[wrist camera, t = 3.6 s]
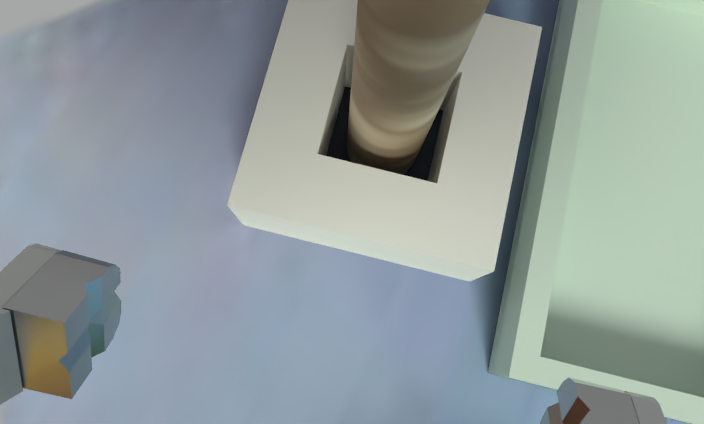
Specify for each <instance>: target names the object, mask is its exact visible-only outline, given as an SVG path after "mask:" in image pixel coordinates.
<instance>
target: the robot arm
mask: <svg viewBox="0 0 704 424" xmlns="http://www.w3.org/2000/svg"><path fill="white" fill-rule="evenodd" d="M120 282H121V281H120V268H119V267H118V266H116V265H115V264H111V263H107V262H104V261H100V260H97V259H93V258H89V257H86V256H82V255H78V254H75V253H71V252H67V251H64V250H62V251H61V250H58V249H54V248H50V247H47V246H43V245H40V244H33V245H30V246H27V247H26V248H25V249H24V250H23V251H22V252H21V253H20V254H19V255H18V256H16V257H15V258H14V259H13V260H12V261H11V262H10V263H9V264H8V265H7V266H6V267H5V268H4V269H3V270H2V271H1V272H0V404H2V403H4V402H5V401H7V400H9V399H10V398H12V397H14V396H15V395H17V394H19V393H20V392H22V391H23V388H25V389H29V390H34V391H38V392H43V393H47V394H51V395H56V396H60V397H65V398H69V399H72V398H73V397H74V395H75V394H76V392H77V391H78V389H79V388H80V386H81V385H82V384H83V382H84V381H85V379H86V378H87V376H88V375H89V373H90V372H91V371H92V360H91V357H93V356H95V355H97V354H99V353H102V352H104V351H105V350H106V348H107V347H108V345H109V344H110V342H111V341H112V339H113V337H114V335H115V332H116V330H117V327H118V325H119V321H120V315H121V300H120V299H119V297H118V296H117V295H116V293H115V292H114V291H115V289H116V288H117V286H118V285H119V284H120ZM557 395H558V400H559V403H556V404H554V405H552V406H550V407H548V408H547V409H546V411H545V413H544V415H543V417H542V419H541V422H540V424H667V423H666V420H665V417H664V415H663V412H662V409H661V406H660V404H659V402H658V401H657V400H656V399H655V398H654V397H650V396H645V395H641V394H637V393H633V392H628V391H622V390H619V389H615V388H611V387H606V386H602V385H598V384H594V383H590V382H586V381H581V380H577V379H573V378H569V377H568V378H567V379H566V380H564V381H563V382H562V384H561V385H560V387H559V389H558V390H557Z"/></svg>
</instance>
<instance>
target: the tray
mask: <svg viewBox="0 0 704 424" xmlns="http://www.w3.org/2000/svg"><path fill="white" fill-rule="evenodd" d="M488 373H492V374H496V375H500V376H504V377H508V378H512V379H516V380H520V381H524V382H528V383H532V384H536V385H540V386H544V387H547V388H551V389H555V390H558V389H559V387H560V385H561V384H562V382H563V381H564V380H566V379H567V378H568V377H569V378H573V379H577V380H581V381H586V382H590V383H594V384H598V385H602V386H606V387H611V388H615V389H619V390H622V391H628V392H633V393H637V394H641V395H645V396H650V397H654V398H655V399H656V400H657V401H658V402H659V404H660V406H661V409H662V412H663V415H664V417H666V418H670V419H674V420H678V421H682V422H686V423H690V424H704V0H559V4H558V10H557V15H556V20H555V25H554V30H553V36H552V41H551V46H550V51H549V56H548V62H547V67H546V72H545V77H544V83H543V88H542V93H541V98H540V103H539V109H538V114H537V119H536V124H535V129H534V135H533V140H532V145H531V150H530V155H529V161H528V166H527V171H526V176H525V181H524V187H523V192H522V197H521V202H520V208H519V213H518V218H517V223H516V228H515V234H514V239H513V244H512V249H511V254H510V260H509V265H508V270H507V275H506V280H505V286H504V291H503V296H502V301H501V307H500V312H499V317H498V322H497V327H496V333H495V338H494V343H493V348H492V353H491V359H490V364H489V369H488Z"/></svg>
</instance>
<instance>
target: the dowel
mask: <svg viewBox="0 0 704 424" xmlns="http://www.w3.org/2000/svg"><path fill="white" fill-rule="evenodd" d="M489 2H490V0H358V3H357V16H356V29H355V42H354V55H353V69H352V82H351V95H350V108H349V121H348V134H347V152H348V156H349V158H350V160H351V162H352V163H357V164H361V165H365V166H369V167H373V168H377V169H381V170H385V171H389V172H393V173H397V174H401V175H403V174H404V173H405V172H407V171H408V170H409V169H410V168H411V166H412V165H413V163H414V162H415V160H416V157H417V155H418V153H419V151H420V149H421V147H422V145H423V143H424V140H425V138H426V136H427V134H428V132H429V130H430V128H431V125H432V123H433V121H434V119H435V117H436V115H437V113H438V111H439V108H440V106H441V104H442V102H443V100H444V98H445V96H446V94H447V91H448V89H449V87H450V85H451V83H452V81H453V79H454V77H455V74H456V72H457V70H458V68H459V66H460V64H461V62H462V59H463V57H464V55H465V53H466V51H467V49H468V47H469V45H470V42H471V40H472V38H473V36H474V34H475V32H476V30H477V28H478V25H479V23H480V21H481V19H482V17H483V15H484V13H485V10H486V8H487V6H488V4H489Z"/></svg>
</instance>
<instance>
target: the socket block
mask: <svg viewBox="0 0 704 424" xmlns="http://www.w3.org/2000/svg"><path fill="white" fill-rule="evenodd" d="M357 3H358V0H288V3H287V6H286V10H285V13H284V16H283V20H282V23H281V26H280V30H279V33H278V37H277V40H276V43H275V47H274V50H273V53H272V57H271V60H270V63H269V67H268V70H267V73H266V77H265V80H264V83H263V87H262V90H261V93H260V97H259V100H258V103H257V107H256V110H255V113H254V117H253V120H252V123H251V127H250V130H249V133H248V137H247V140H246V143H245V147H244V150H243V153H242V157H241V160H240V164H239V167H238V170H237V174H236V177H235V180H234V184H233V187H232V190H231V194H230V197H229V200H228V204H227V205H228V207H229V208H230V209H231V210H232V212H233V213H234V214H235V215H236V217H237V218H238V219H239V220H240V222H241V223H242V224H243V225H245V226H249V227H253V228H257V229H261V230H265V231H269V232H273V233H277V234H281V235H285V236H289V237H293V238H297V239H301V240H305V241H309V242H313V243H317V244H321V245H325V246H329V247H333V248H337V249H341V250H345V251H349V252H353V253H357V254H361V255H365V256H369V257H373V258H377V259H381V260H385V261H389V262H393V263H397V264H401V265H405V266H409V267H413V268H417V269H421V270H425V271H429V272H433V273H437V274H441V275H445V276H449V277H453V278H457V279H461V280H465V281H469V282H470V281H472V280H474V279H477V278H479V277H482V276H484V275H487V274H489V273H492V272H494V270H495V265H496V260H497V255H498V250H499V245H500V240H501V234H502V229H503V224H504V219H505V214H506V209H507V204H508V199H509V194H510V189H511V184H512V178H513V173H514V168H515V163H516V158H517V153H518V148H519V143H520V138H521V133H522V128H523V123H524V117H525V112H526V107H527V102H528V97H529V92H530V87H531V82H532V77H533V72H534V67H535V62H536V56H537V51H538V46H539V41H540V36H541V31H542V27H540V26H536V25H532V24H528V23H524V22H520V21H515V20H511V19H507V18H503V17H499V16H495V15H490V14H486V13H484V15H483V17H482V19H481V21H480V23H479V25H478V28H477V30H476V32H475V34H474V36H473V38H472V40H471V42H470V45H469V47H468V49H467V51H466V53H465V55H464V57H463V59H462V62H461V64H460V66H459V68H458V70H457V72H456V74H455V77H454V79H453V81H452V83H451V85H450V87H449V89H448V91H447V94H446V96H445V98H444V100H443V102H442V104H441V106H440V108H439V109H440V110H443V115H442V119H441V124H440V128H439V132H438V137H437V141H436V146H435V150H434V154H433V159H432V163H431V167H430V172H429V176H428V181H425V180H421V179H417V178H413V177H409V176H405V175H401V174H397V173H393V172H389V171H385V170H381V169H377V168H373V167H369V166H365V165H361V164H357V163H352V162H348V161H344V160H340V159H336V158H332V157H328V156H327V152H328V148H329V145H330V141H331V137H332V133H333V130H334V126H335V122H336V118H337V115H338V111H339V107H340V104H341V100H342V96H343V92H344V89H345V87H350V88H351V82H352V69H353V55H354V42H355V29H356V16H357Z"/></svg>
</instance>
